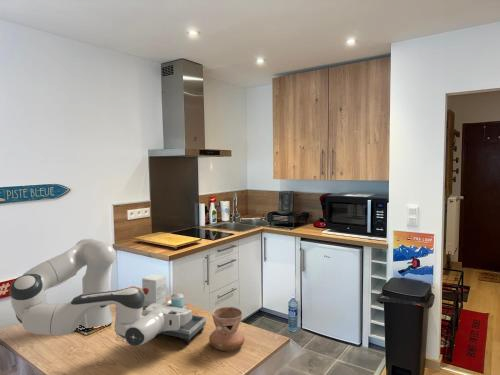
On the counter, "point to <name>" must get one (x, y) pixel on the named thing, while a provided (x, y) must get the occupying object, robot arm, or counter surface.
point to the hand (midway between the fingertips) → (178, 306)
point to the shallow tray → (188, 329)
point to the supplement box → (154, 289)
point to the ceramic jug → (226, 329)
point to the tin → (177, 300)
